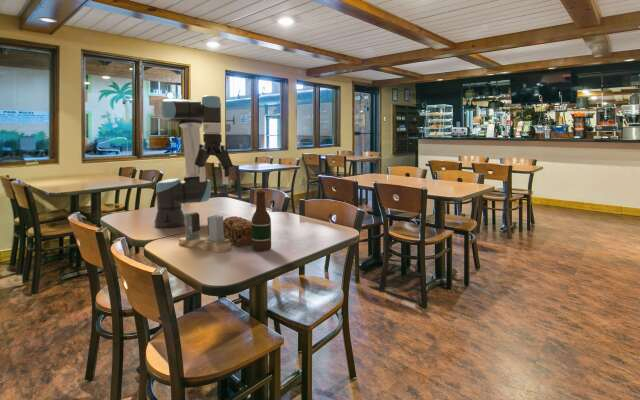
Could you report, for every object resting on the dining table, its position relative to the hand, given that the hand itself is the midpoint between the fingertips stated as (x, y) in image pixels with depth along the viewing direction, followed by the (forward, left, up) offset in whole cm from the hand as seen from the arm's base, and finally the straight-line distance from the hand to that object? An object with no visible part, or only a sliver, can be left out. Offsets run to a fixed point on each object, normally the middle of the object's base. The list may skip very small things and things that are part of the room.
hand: (213, 182), depth 174 cm
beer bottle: (+27, -2, -26) cm, 37 cm away
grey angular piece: (+4, -11, -25) cm, 28 cm away
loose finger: (+11, -11, -23) cm, 27 cm away
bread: (+11, +4, -26) cm, 28 cm away
